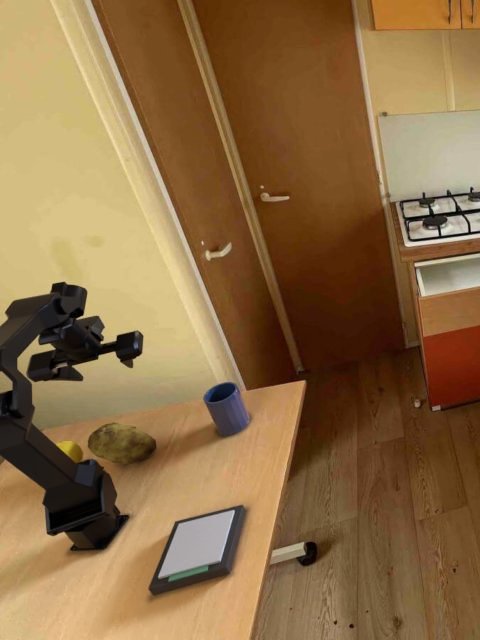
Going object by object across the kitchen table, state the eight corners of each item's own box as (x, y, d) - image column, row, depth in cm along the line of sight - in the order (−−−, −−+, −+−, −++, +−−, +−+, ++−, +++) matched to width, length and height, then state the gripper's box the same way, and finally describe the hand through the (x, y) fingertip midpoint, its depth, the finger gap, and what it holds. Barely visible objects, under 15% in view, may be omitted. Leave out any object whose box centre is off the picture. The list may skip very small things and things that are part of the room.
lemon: (86, 453, 99) (70, 429, 95) (91, 466, 96) (75, 443, 92) (54, 469, 95) (36, 445, 92) (58, 484, 92) (39, 460, 88)
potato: (125, 480, 93) (109, 456, 89) (91, 459, 98) (75, 436, 94) (165, 450, 100) (151, 426, 96) (132, 432, 104) (118, 409, 101)
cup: (241, 435, 104) (227, 403, 99) (212, 436, 103) (196, 404, 98) (255, 412, 110) (242, 381, 105) (227, 413, 110) (214, 382, 105)
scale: (230, 574, 77) (225, 565, 76) (153, 596, 74) (146, 587, 73) (246, 511, 87) (242, 502, 86) (179, 528, 84) (174, 519, 83)
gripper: (128, 296, 97) (157, 333, 108) (17, 319, 89) (61, 356, 100) (124, 335, 90) (156, 370, 102) (4, 363, 83) (52, 398, 94)
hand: (107, 372), depth 99 cm, fingers open, 9 cm apart
